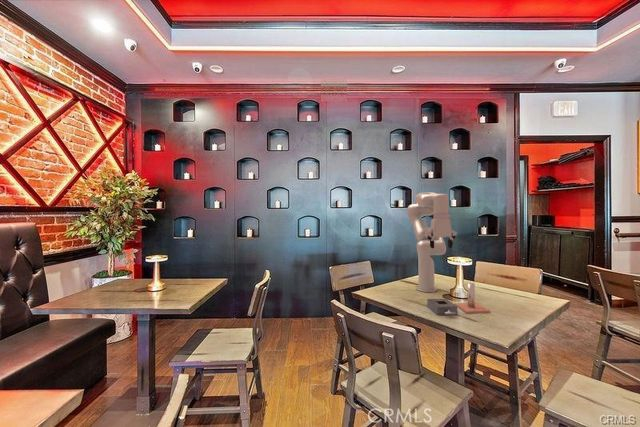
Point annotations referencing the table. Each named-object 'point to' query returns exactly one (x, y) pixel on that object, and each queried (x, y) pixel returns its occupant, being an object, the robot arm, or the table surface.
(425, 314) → the table surface
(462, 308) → the terracotta mat
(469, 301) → the steel peg
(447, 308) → the vise block
